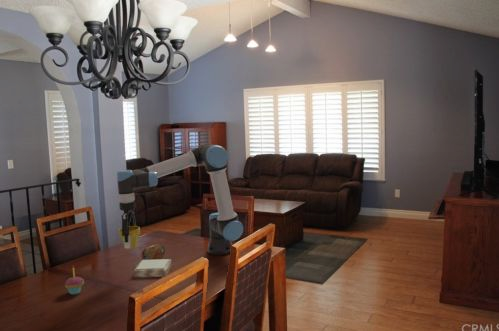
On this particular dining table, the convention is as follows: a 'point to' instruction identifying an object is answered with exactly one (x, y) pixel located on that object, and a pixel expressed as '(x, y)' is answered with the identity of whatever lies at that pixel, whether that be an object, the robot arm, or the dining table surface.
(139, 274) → the plinth
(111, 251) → the dining table surface
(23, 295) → the dining table surface
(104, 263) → the dining table surface
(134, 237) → the plant pot
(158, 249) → the tin
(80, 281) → the cupcake
